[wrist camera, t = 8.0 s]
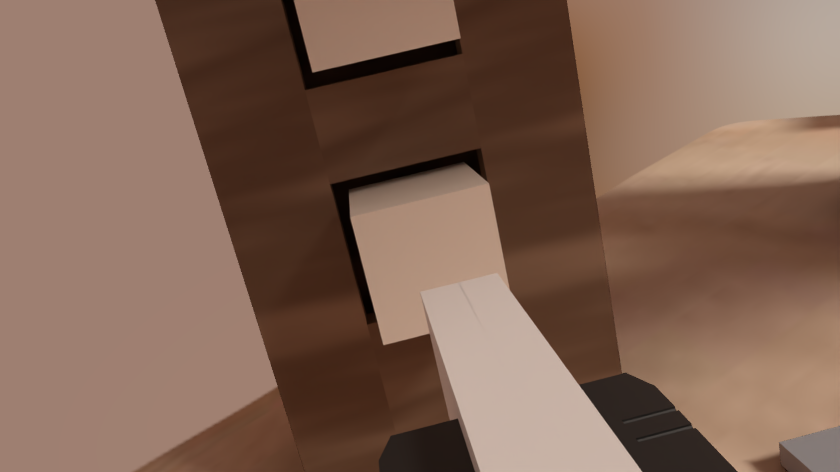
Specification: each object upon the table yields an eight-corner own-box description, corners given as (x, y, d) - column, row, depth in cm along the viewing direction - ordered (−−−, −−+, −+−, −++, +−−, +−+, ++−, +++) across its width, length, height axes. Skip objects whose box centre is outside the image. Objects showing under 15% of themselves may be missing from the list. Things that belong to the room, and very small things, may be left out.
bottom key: (513, 311, 20) (489, 183, 18) (383, 345, 19) (350, 217, 18) (485, 270, 23) (463, 161, 22) (376, 297, 23) (348, 189, 22)
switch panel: (627, 413, 24) (463, -696, 16) (312, 496, 24) (-39, -610, 15) (580, 354, 29) (435, -521, 21) (317, 423, 29) (53, -449, 20)
